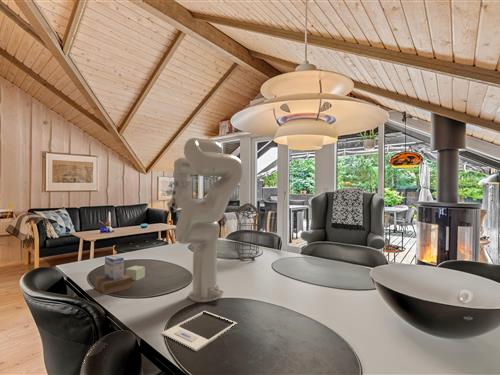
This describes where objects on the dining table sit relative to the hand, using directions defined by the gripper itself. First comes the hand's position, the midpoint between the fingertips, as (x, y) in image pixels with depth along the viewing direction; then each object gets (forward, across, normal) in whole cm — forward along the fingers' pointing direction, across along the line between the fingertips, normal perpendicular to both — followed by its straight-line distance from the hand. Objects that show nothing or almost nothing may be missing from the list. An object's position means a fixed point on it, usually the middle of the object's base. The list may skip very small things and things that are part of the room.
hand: (181, 219), depth 133 cm
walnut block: (+29, -27, +13) cm, 41 cm away
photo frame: (+29, -32, -42) cm, 60 cm away
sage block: (+28, -13, +17) cm, 36 cm away
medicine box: (+24, -26, +13) cm, 38 cm away
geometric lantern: (+28, +48, -9) cm, 57 cm away
